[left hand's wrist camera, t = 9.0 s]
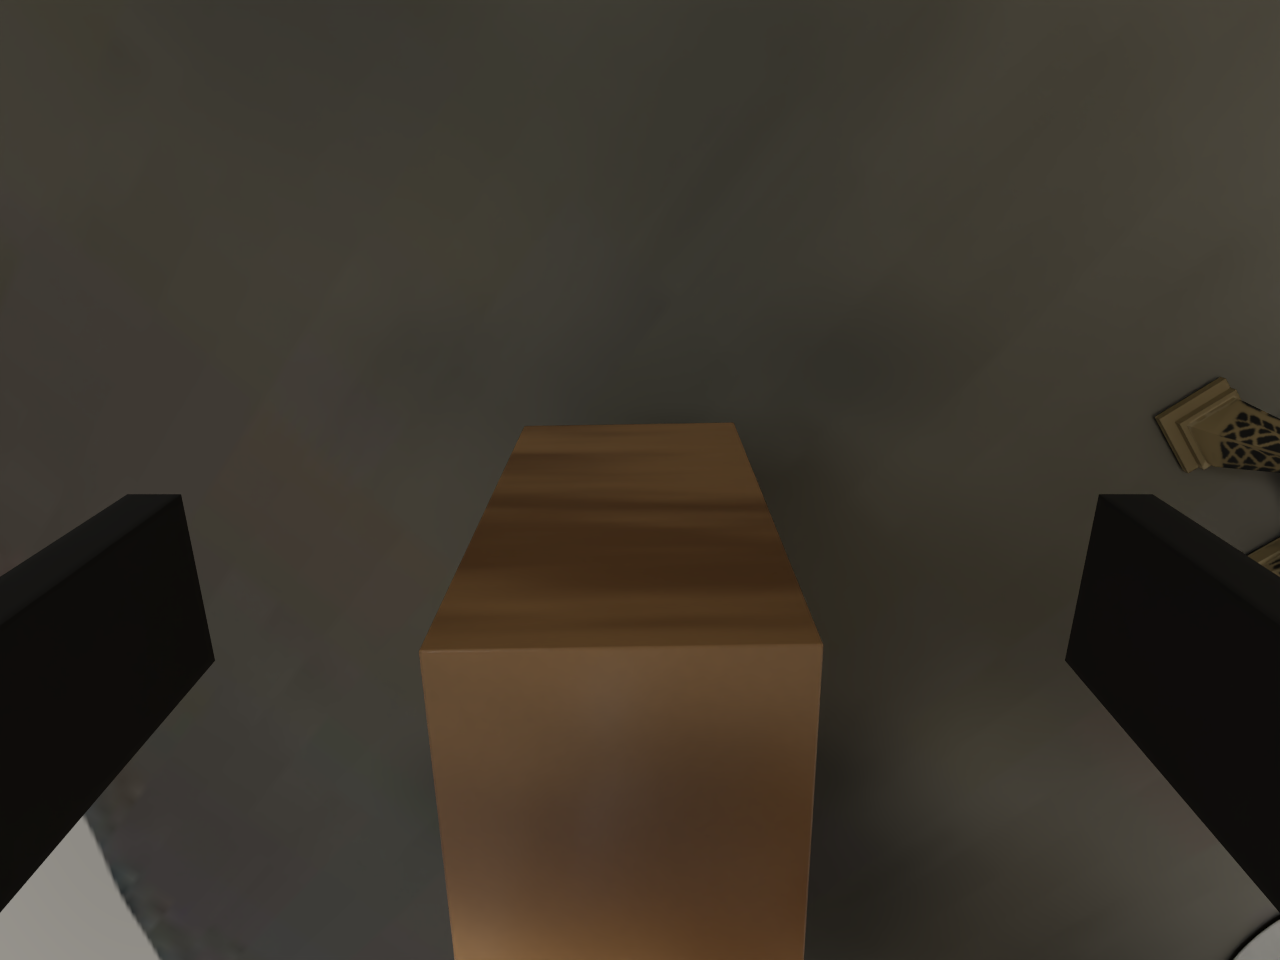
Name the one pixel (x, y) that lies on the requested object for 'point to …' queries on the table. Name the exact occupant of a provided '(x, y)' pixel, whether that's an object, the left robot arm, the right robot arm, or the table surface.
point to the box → (625, 707)
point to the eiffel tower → (1225, 440)
